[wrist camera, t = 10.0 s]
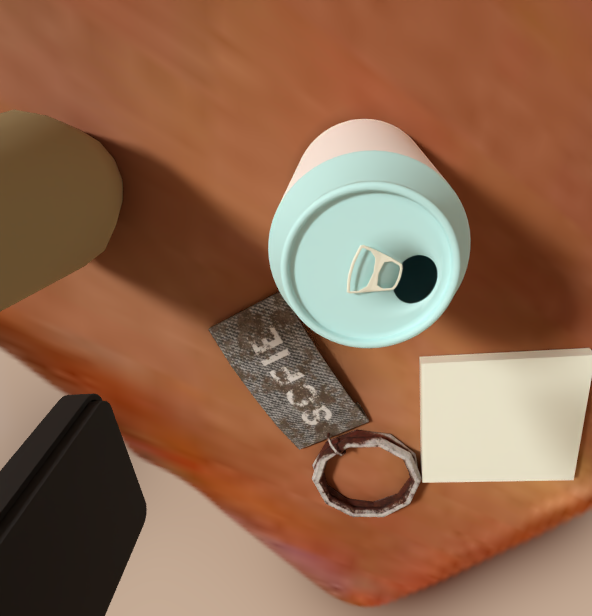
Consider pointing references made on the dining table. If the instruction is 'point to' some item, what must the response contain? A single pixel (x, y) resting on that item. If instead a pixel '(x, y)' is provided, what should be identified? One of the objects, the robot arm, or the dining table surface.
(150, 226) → the dining table surface
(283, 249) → the can
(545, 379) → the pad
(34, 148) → the squeeze bottle
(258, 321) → the keychain
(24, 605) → the robot arm
